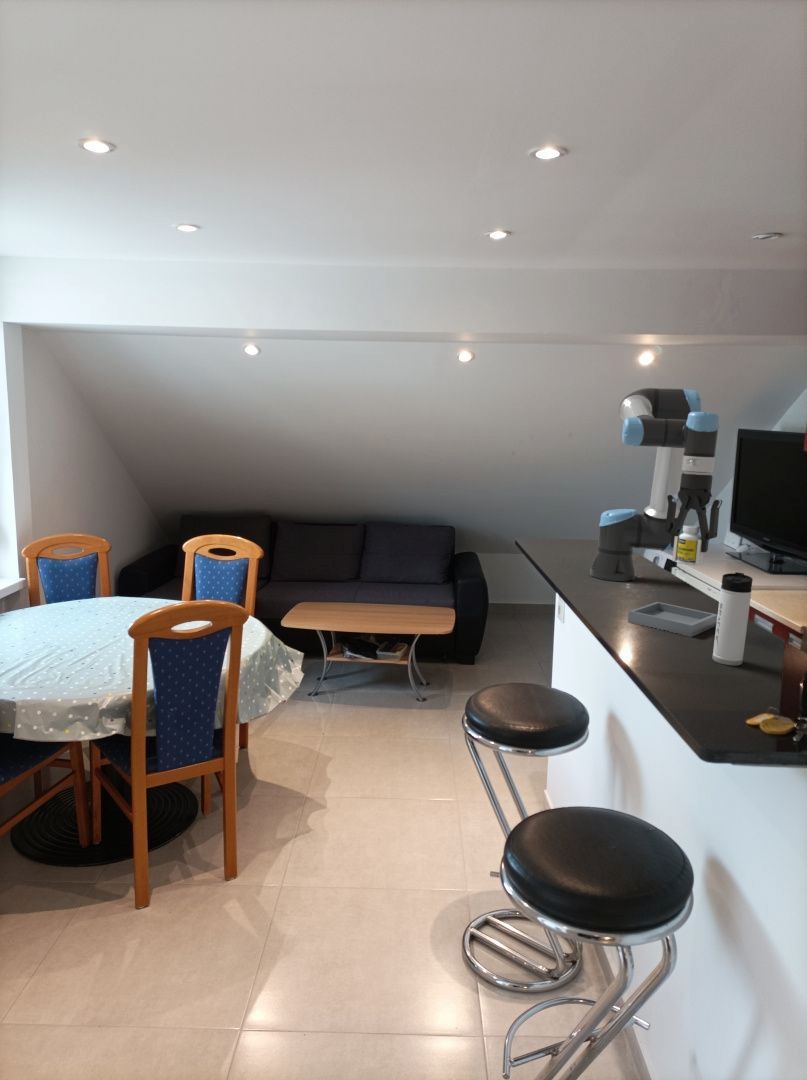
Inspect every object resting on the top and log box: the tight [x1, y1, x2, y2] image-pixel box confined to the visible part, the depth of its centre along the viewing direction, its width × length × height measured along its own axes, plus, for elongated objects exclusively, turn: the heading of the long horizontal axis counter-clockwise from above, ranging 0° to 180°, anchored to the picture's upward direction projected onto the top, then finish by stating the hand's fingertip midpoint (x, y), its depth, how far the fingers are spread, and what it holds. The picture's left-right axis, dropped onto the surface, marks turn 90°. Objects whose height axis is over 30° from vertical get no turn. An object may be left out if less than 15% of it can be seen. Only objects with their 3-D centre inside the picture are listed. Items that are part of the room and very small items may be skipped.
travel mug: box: [712, 571, 753, 667], centre depth 168 cm, size 6×7×20 cm
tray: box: [627, 601, 718, 638], centre depth 199 cm, size 17×17×3 cm
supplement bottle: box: [676, 524, 701, 566], centre depth 194 cm, size 5×5×10 cm
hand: (687, 562), depth 195 cm, fingers closed on supplement bottle, 5 cm apart
